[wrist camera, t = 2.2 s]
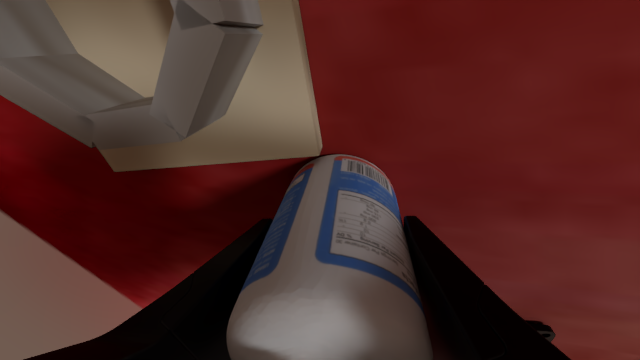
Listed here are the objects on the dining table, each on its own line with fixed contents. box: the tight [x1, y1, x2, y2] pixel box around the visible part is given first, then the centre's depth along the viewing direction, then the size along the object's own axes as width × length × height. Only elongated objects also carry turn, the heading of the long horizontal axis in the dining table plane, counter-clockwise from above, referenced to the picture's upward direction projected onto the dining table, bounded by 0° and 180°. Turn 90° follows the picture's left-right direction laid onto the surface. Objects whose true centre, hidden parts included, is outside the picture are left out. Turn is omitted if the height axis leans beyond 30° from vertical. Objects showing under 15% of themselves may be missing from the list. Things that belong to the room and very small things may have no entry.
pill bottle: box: [226, 154, 433, 360], centre depth 8 cm, size 6×5×10 cm
